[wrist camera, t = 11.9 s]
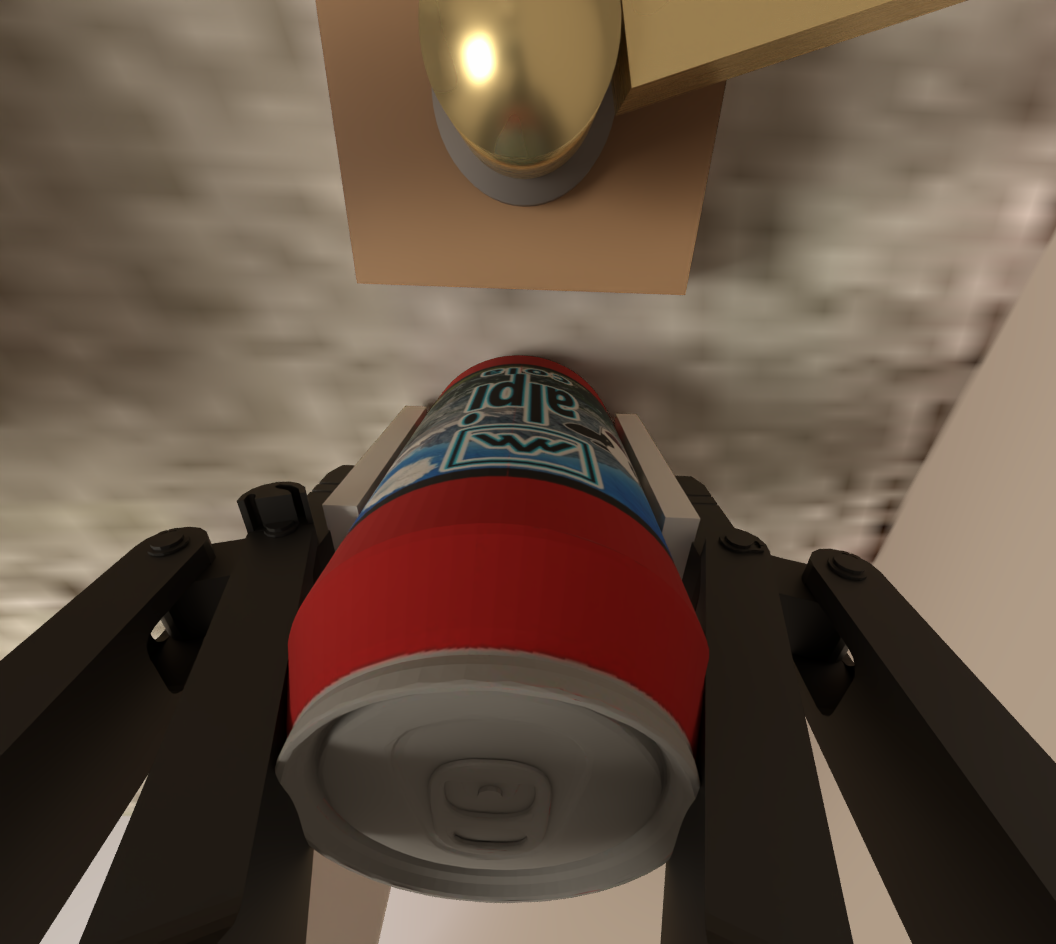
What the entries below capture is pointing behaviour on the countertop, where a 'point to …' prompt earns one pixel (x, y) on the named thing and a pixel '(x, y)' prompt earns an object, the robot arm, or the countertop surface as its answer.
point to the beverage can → (499, 658)
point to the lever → (610, 60)
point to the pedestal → (505, 178)
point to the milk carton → (344, 905)
